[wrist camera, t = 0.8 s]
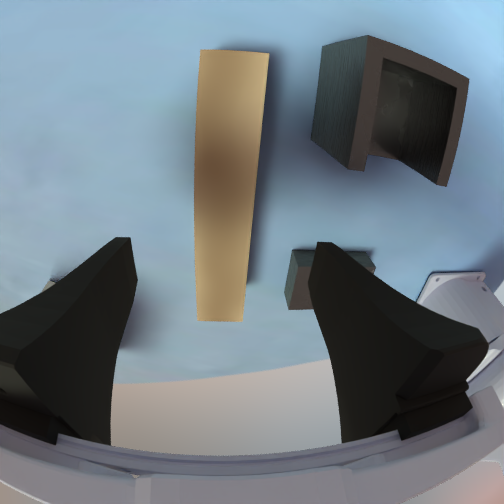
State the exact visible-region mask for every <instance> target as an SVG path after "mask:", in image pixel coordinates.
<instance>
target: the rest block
mask: <svg viewBox="0 0 504 504" xmlns="http://www.w3.org/2000/svg"><path fill="white" fill-rule="evenodd" d="M345 252H346V253H347V254H348V255H350V256H351V257H352V258H353V259H355V260H356V261H357V262H358V263H360V264H361V265H362V266H363V267H365V268H366V269H367V270H368V271H370V272H371V273H372V274H374V271H375V268H376V267H375V265H374V264H373V262H372V261H371V259H370V258H369V256H368V255H367V253H366V252H348V251H345ZM314 255H315V251H311V250H292V254H291V260H290V265H289V270H288V275H287V281H286V286H285V291H284V293H285V297H286V301H287V306H288V310H303V309H313V306H312V302H311V298H310V293H309V288H308V279H309V275H310V271H311V267H312V263H313V259H314Z"/></svg>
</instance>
